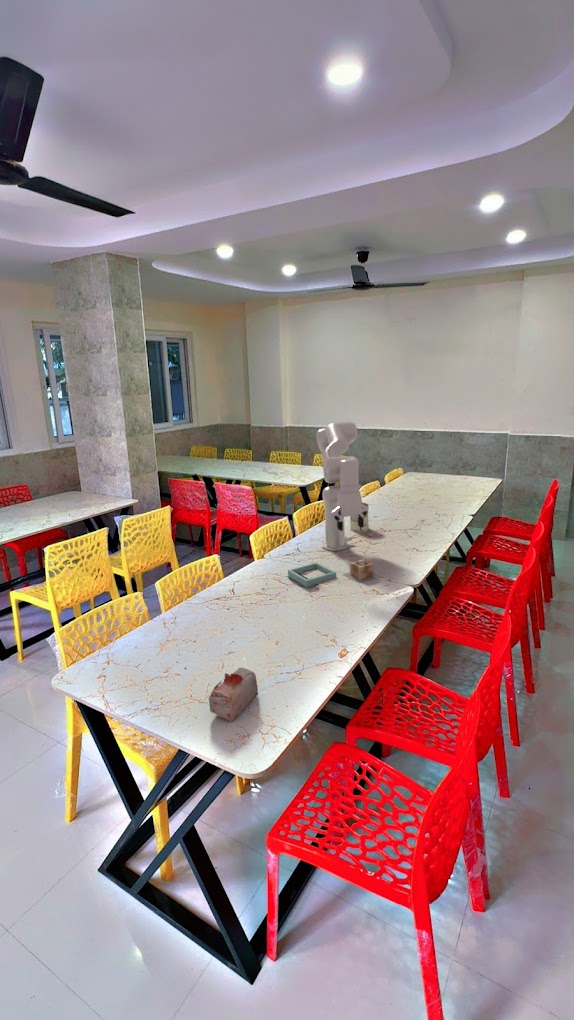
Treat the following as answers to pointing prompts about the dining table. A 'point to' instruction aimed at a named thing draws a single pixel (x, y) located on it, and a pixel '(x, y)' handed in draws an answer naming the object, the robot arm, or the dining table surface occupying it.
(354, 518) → the coffee can
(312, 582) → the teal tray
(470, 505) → the dining table surface
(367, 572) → the oak collar
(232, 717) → the food item
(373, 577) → the stake stand
